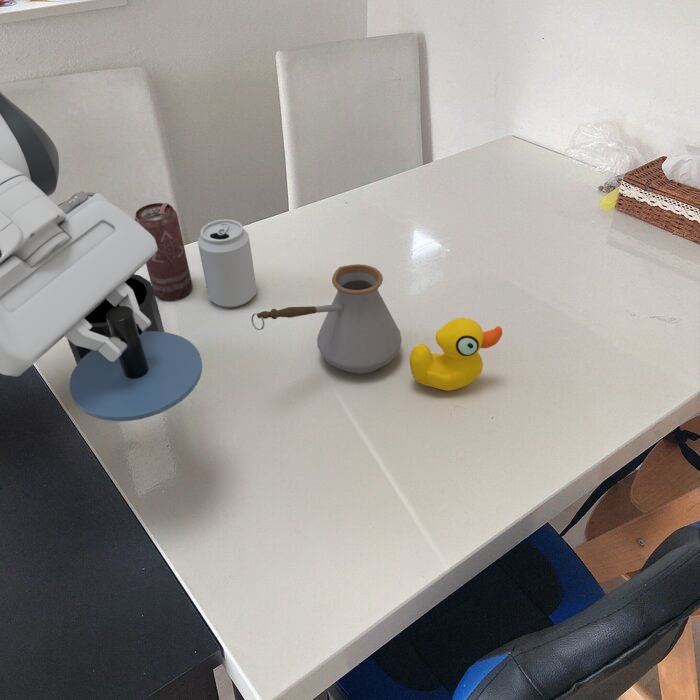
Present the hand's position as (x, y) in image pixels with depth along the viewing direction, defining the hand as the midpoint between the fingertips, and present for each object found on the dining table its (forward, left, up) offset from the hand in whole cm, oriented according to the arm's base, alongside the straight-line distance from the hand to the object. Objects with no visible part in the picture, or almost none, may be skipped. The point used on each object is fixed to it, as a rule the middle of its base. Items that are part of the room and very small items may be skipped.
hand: (132, 343), depth 64 cm
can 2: (+17, +33, -21) cm, 43 cm away
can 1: (+9, +39, -21) cm, 45 cm away
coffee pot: (+24, +10, -21) cm, 33 cm away
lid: (0, 0, -4) cm, 4 cm away
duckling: (+37, +1, -21) cm, 42 cm away
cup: (-1, +22, -21) cm, 31 cm away
